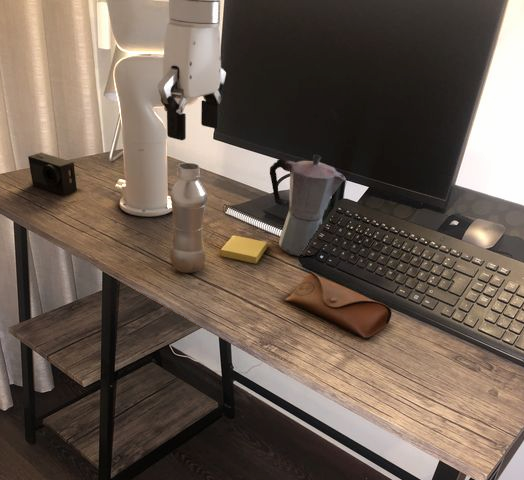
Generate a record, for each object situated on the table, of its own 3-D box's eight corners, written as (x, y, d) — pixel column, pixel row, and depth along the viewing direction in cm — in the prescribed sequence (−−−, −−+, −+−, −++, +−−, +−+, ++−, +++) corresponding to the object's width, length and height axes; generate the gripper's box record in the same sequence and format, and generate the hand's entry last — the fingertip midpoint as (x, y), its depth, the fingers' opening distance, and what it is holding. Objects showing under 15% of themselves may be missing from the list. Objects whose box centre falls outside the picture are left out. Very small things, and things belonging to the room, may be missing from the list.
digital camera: (28, 186, 134) (23, 157, 130) (45, 180, 138) (41, 151, 134) (60, 196, 130) (56, 167, 126) (77, 190, 134) (73, 161, 130)
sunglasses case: (281, 299, 100) (295, 265, 99) (297, 304, 106) (311, 271, 105) (368, 340, 92) (385, 303, 91) (380, 342, 98) (396, 308, 97)
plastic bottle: (171, 260, 110) (169, 159, 98) (205, 261, 111) (208, 161, 99) (169, 276, 105) (167, 171, 93) (205, 277, 106) (208, 173, 94)
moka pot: (330, 263, 114) (347, 167, 103) (257, 251, 116) (266, 155, 104) (335, 244, 122) (351, 152, 110) (266, 233, 124) (275, 141, 112)
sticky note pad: (220, 256, 113) (220, 249, 112) (233, 241, 119) (233, 234, 118) (255, 263, 112) (256, 257, 111) (266, 248, 118) (267, 242, 117)
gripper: (205, 8, 90) (203, 118, 100) (137, 12, 77) (142, 138, 87) (245, 14, 88) (239, 127, 98) (181, 19, 75) (182, 148, 85)
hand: (193, 132), depth 92 cm, fingers open, 9 cm apart
